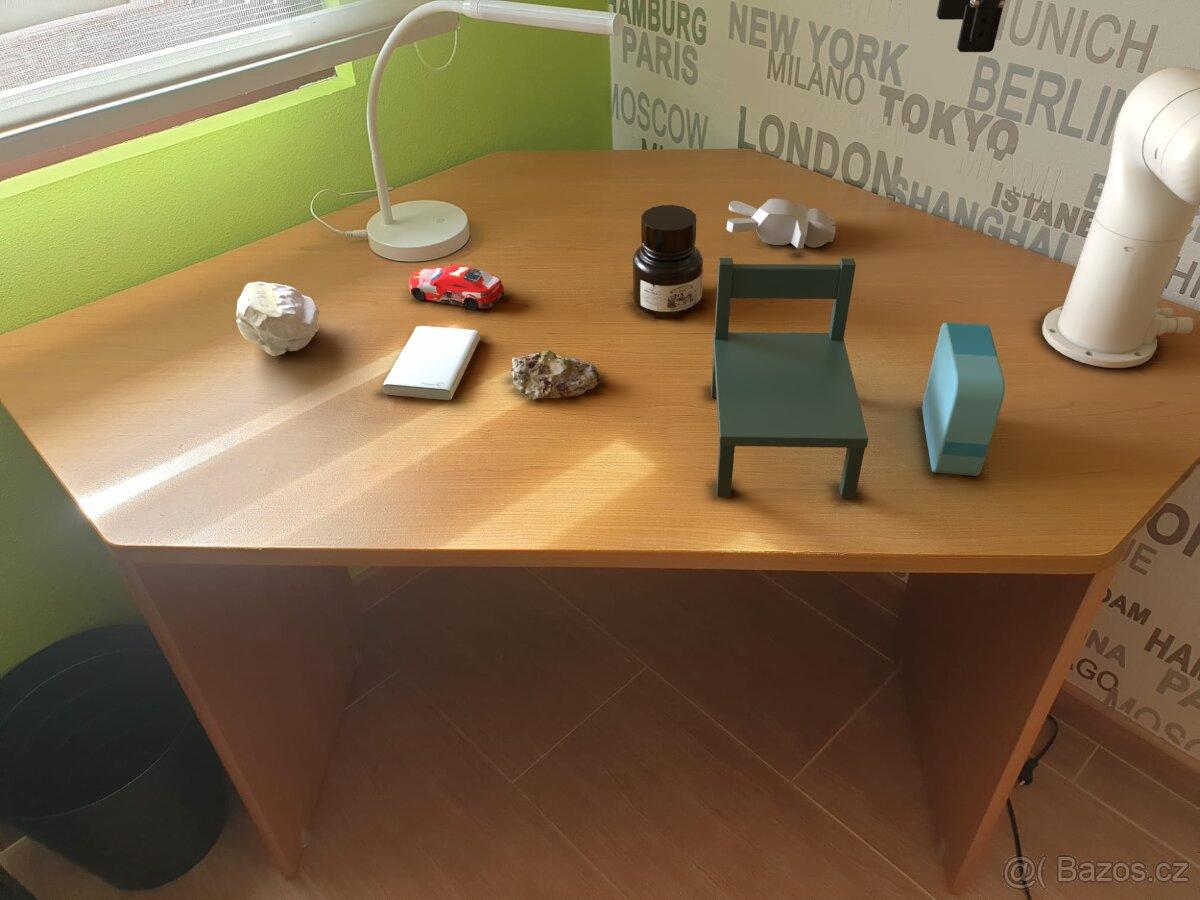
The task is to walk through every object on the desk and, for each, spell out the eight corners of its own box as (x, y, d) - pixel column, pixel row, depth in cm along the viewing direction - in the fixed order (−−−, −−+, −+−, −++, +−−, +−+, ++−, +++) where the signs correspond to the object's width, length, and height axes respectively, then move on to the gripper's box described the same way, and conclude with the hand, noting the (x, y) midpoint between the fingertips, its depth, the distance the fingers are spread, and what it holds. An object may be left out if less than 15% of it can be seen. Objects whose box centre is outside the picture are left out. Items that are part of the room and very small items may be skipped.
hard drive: (450, 389, 109) (479, 329, 118) (381, 383, 110) (415, 324, 119) (451, 401, 110) (480, 340, 119) (384, 395, 111) (417, 335, 120)
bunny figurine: (839, 231, 129) (729, 214, 130) (829, 264, 133) (723, 247, 134) (836, 199, 137) (732, 184, 137) (827, 231, 140) (726, 216, 141)
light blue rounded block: (978, 483, 97) (1007, 388, 89) (932, 479, 98) (957, 385, 90) (962, 410, 106) (988, 318, 98) (920, 407, 107) (942, 316, 99)
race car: (402, 298, 127) (397, 272, 125) (422, 278, 131) (418, 252, 128) (491, 315, 123) (487, 288, 121) (509, 294, 127) (506, 268, 124)
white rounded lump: (297, 309, 126) (230, 346, 121) (274, 253, 121) (203, 290, 116) (346, 338, 119) (278, 378, 114) (324, 280, 113) (251, 320, 109)
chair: (832, 391, 109) (854, 257, 98) (856, 499, 96) (884, 359, 84) (710, 389, 110) (717, 257, 99) (715, 497, 96) (725, 357, 85)
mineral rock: (499, 385, 108) (515, 331, 112) (504, 408, 111) (519, 355, 116) (593, 396, 106) (605, 341, 111) (595, 419, 110) (606, 365, 114)
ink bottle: (642, 325, 121) (642, 240, 113) (621, 291, 127) (620, 207, 119) (714, 312, 122) (719, 227, 115) (690, 278, 129) (693, 195, 121)
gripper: (1085, -158, 75) (1026, 65, 86) (1026, -190, 88) (981, 7, 99) (986, -157, 75) (941, 65, 86) (942, -189, 88) (908, 7, 99)
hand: (962, 34), depth 93 cm, fingers open, 9 cm apart
